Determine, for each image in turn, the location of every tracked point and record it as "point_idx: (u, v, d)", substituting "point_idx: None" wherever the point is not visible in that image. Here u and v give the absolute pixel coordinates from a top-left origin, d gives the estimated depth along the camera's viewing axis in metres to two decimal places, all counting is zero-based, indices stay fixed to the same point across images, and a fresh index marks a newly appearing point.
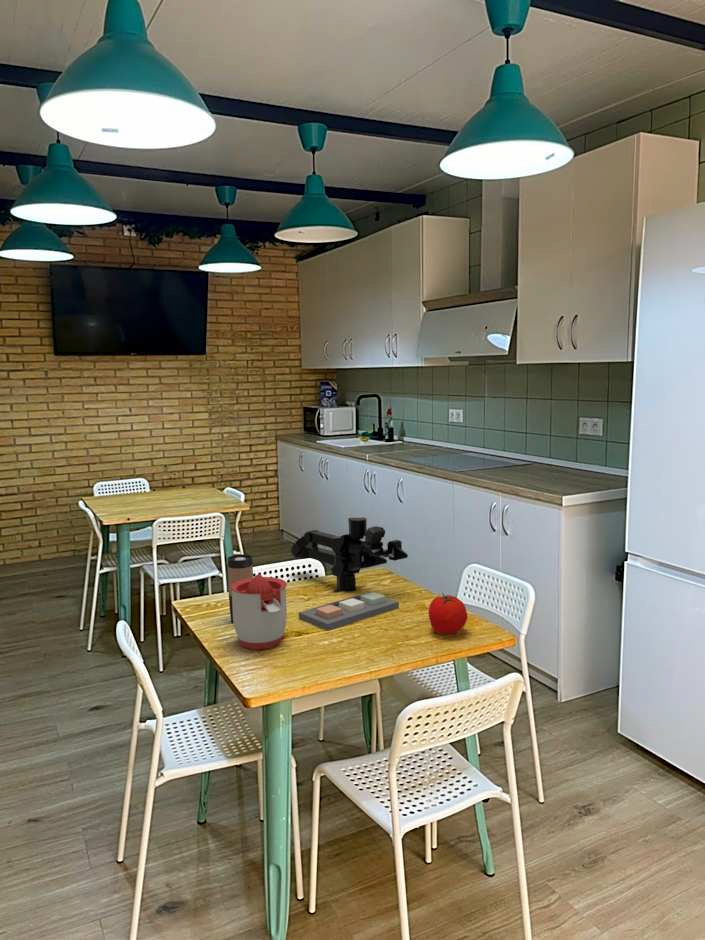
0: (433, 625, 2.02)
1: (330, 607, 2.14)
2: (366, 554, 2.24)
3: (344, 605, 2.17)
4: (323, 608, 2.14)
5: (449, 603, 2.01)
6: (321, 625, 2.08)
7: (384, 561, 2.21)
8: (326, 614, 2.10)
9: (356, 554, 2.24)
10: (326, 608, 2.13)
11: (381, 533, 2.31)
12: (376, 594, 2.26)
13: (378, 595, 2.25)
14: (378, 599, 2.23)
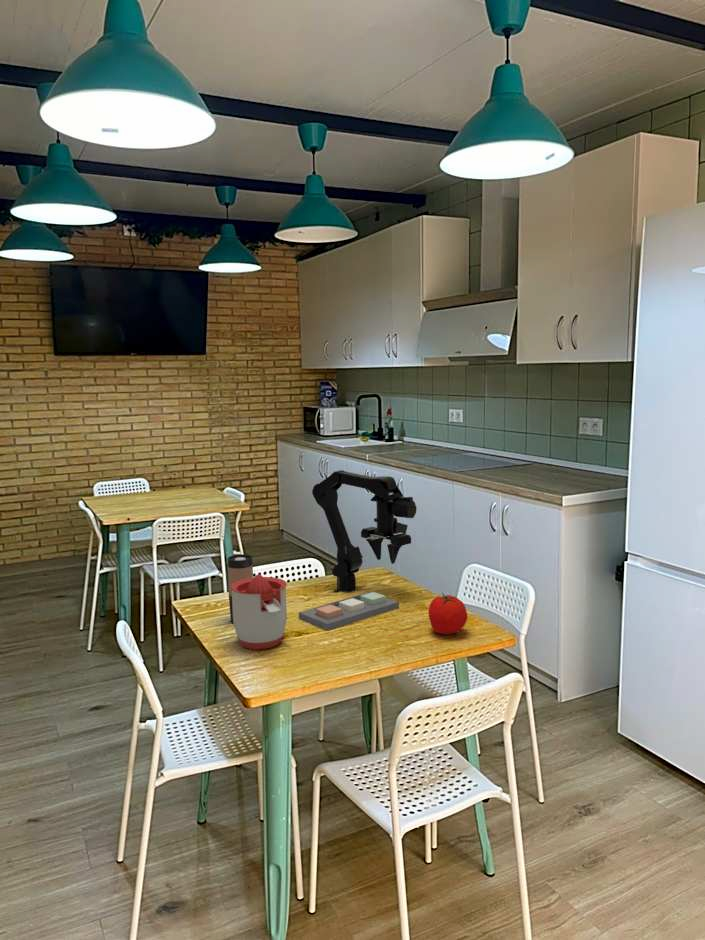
0: (433, 625, 2.02)
1: (330, 607, 2.14)
2: None
3: (344, 605, 2.17)
4: (323, 608, 2.14)
5: (449, 603, 2.01)
6: (321, 625, 2.08)
7: (393, 561, 2.31)
8: (326, 614, 2.10)
9: (408, 539, 2.27)
10: (326, 608, 2.13)
11: None
12: (376, 594, 2.26)
13: (378, 595, 2.25)
14: (378, 599, 2.23)
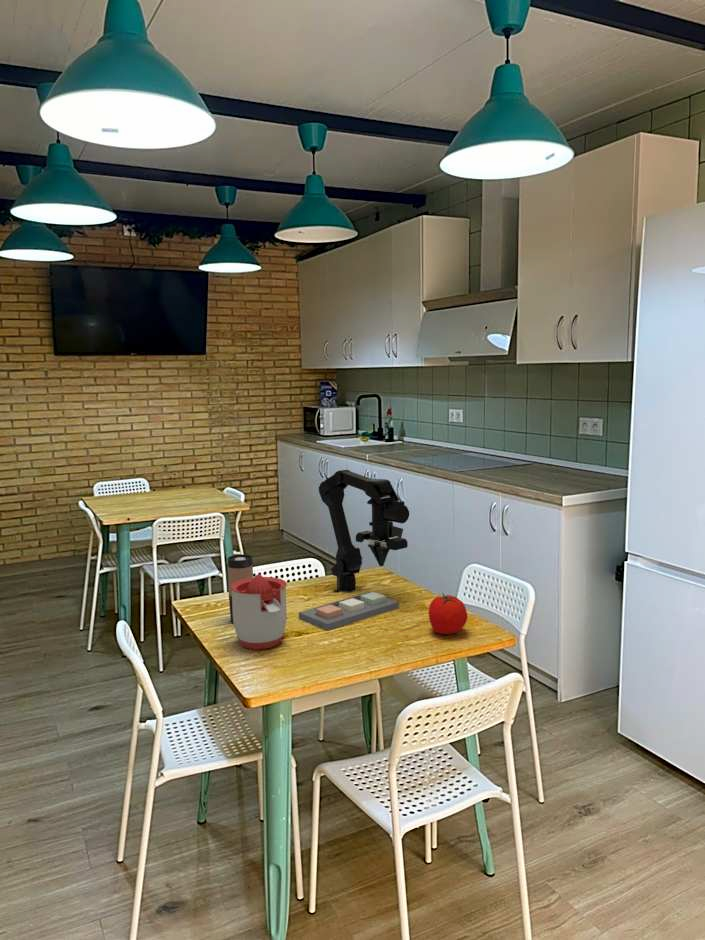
0: (433, 625, 2.02)
1: (330, 607, 2.14)
2: None
3: (344, 605, 2.17)
4: (323, 608, 2.14)
5: (449, 603, 2.01)
6: (321, 625, 2.08)
7: (382, 564, 2.30)
8: (326, 614, 2.10)
9: (405, 543, 2.23)
10: (326, 608, 2.13)
11: None
12: (376, 594, 2.26)
13: (378, 595, 2.25)
14: (378, 599, 2.23)
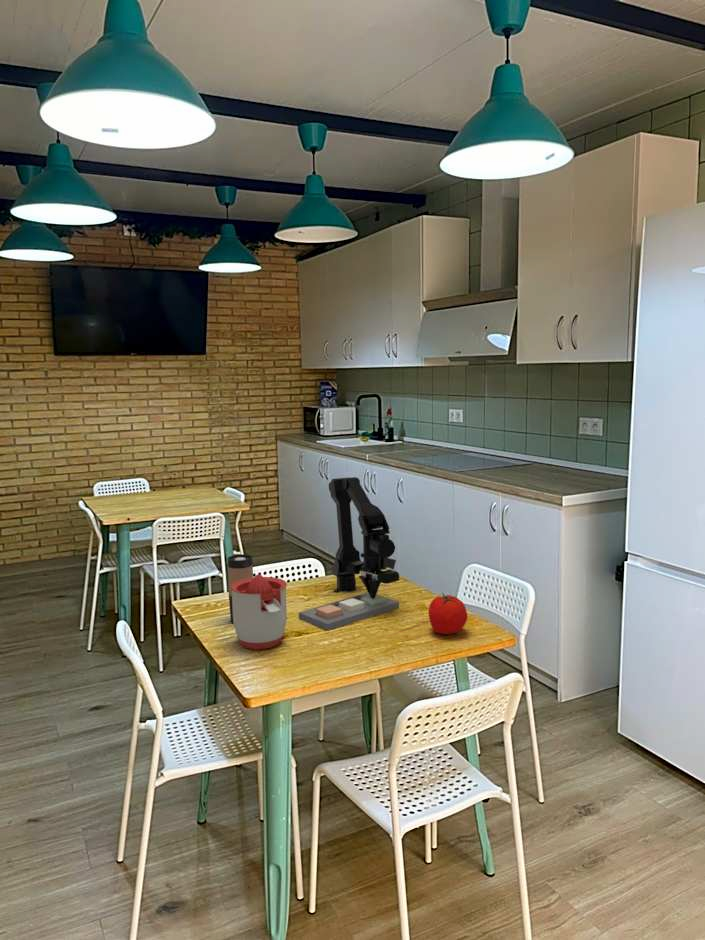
0: (433, 625, 2.02)
1: (330, 607, 2.14)
2: None
3: (344, 605, 2.17)
4: (323, 608, 2.14)
5: (449, 603, 2.01)
6: (321, 625, 2.08)
7: (373, 596, 2.24)
8: (326, 614, 2.10)
9: (396, 576, 2.18)
10: (326, 608, 2.13)
11: None
12: (376, 597, 2.26)
13: (378, 598, 2.25)
14: (378, 602, 2.23)
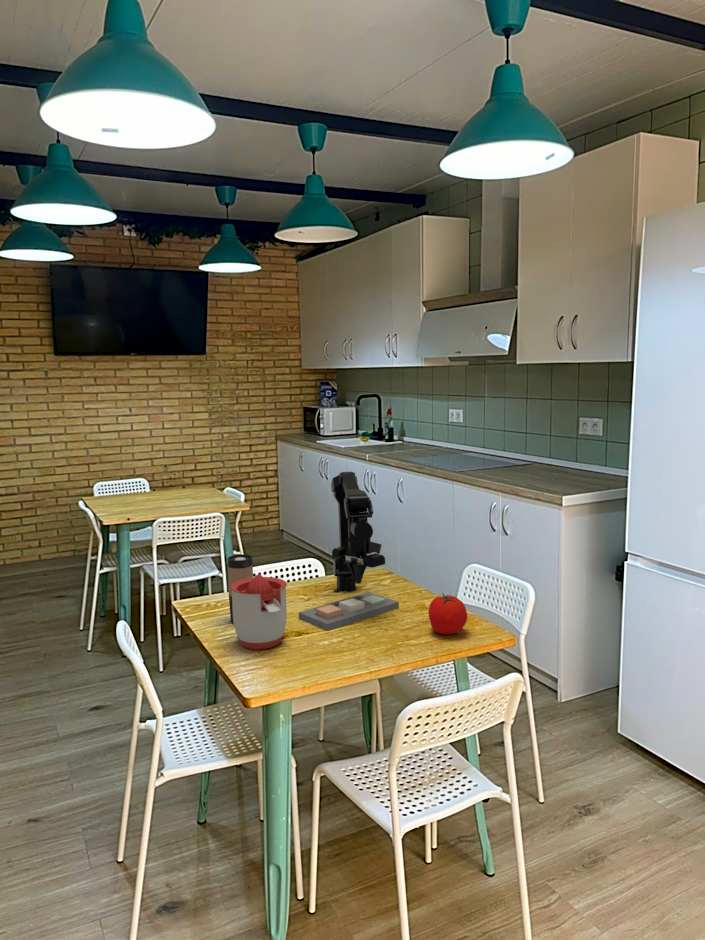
0: (433, 625, 2.02)
1: (330, 607, 2.14)
2: None
3: (344, 605, 2.17)
4: (323, 608, 2.14)
5: (449, 603, 2.01)
6: (321, 625, 2.08)
7: (359, 581, 2.19)
8: (326, 614, 2.10)
9: (382, 560, 2.13)
10: (326, 608, 2.13)
11: None
12: (376, 597, 2.26)
13: (378, 598, 2.25)
14: (378, 602, 2.23)
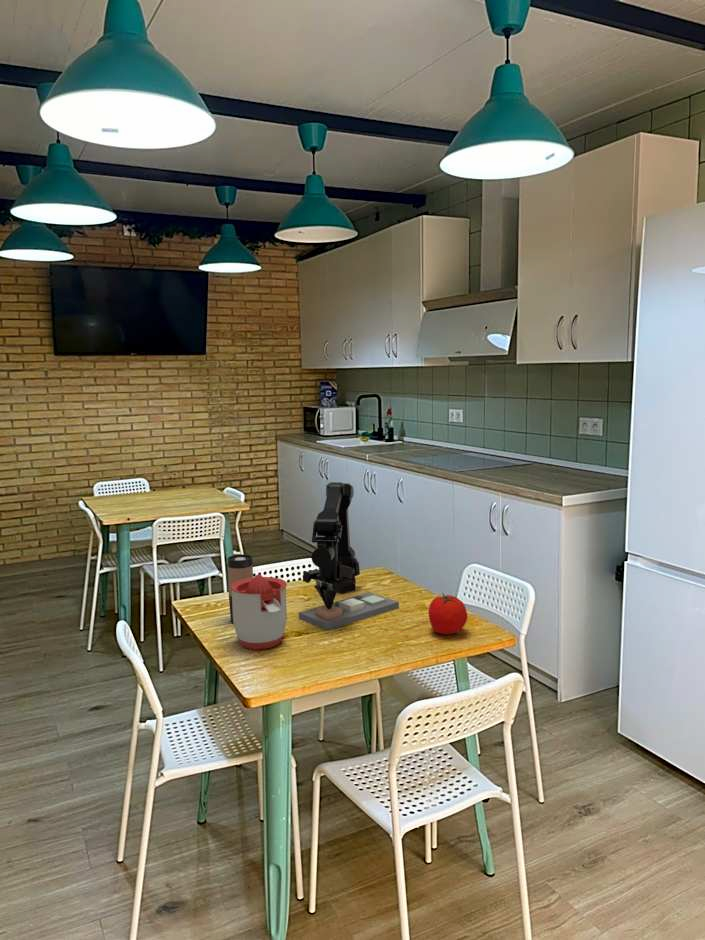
0: (433, 625, 2.02)
1: None
2: None
3: (344, 605, 2.17)
4: (323, 608, 2.14)
5: (449, 603, 2.01)
6: (321, 625, 2.08)
7: (329, 607, 2.13)
8: (326, 614, 2.10)
9: (352, 586, 2.06)
10: (326, 608, 2.13)
11: None
12: (376, 597, 2.26)
13: (378, 598, 2.25)
14: (378, 602, 2.23)
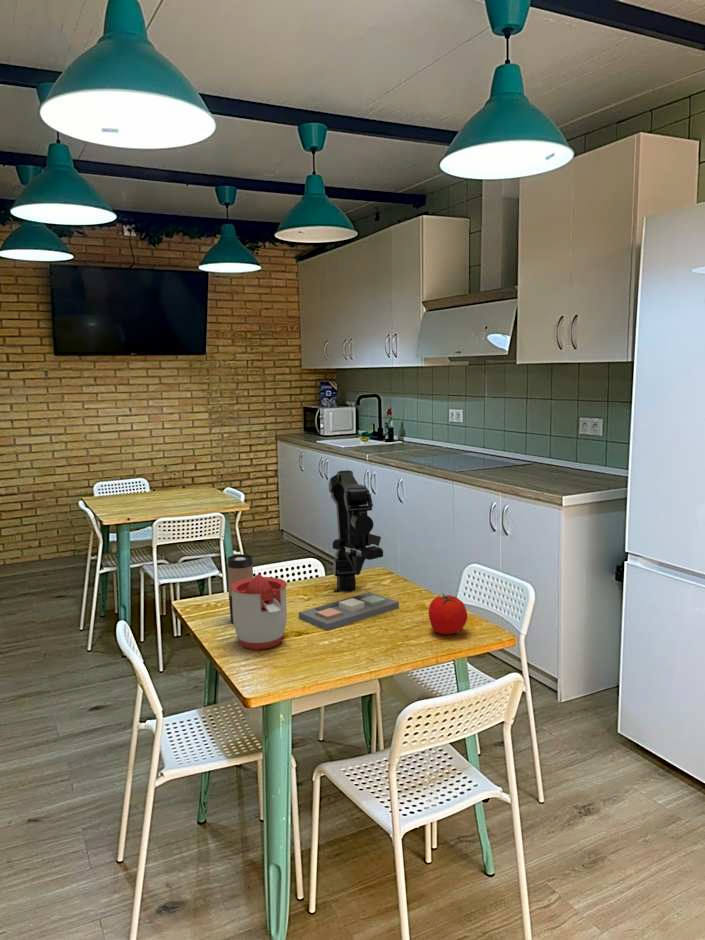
0: (433, 625, 2.02)
1: (330, 610, 2.14)
2: None
3: (344, 605, 2.17)
4: (323, 611, 2.14)
5: (449, 603, 2.01)
6: (321, 625, 2.08)
7: (358, 573, 2.24)
8: (326, 617, 2.10)
9: (380, 552, 2.17)
10: (326, 611, 2.13)
11: None
12: (376, 597, 2.26)
13: (378, 598, 2.25)
14: (378, 602, 2.23)
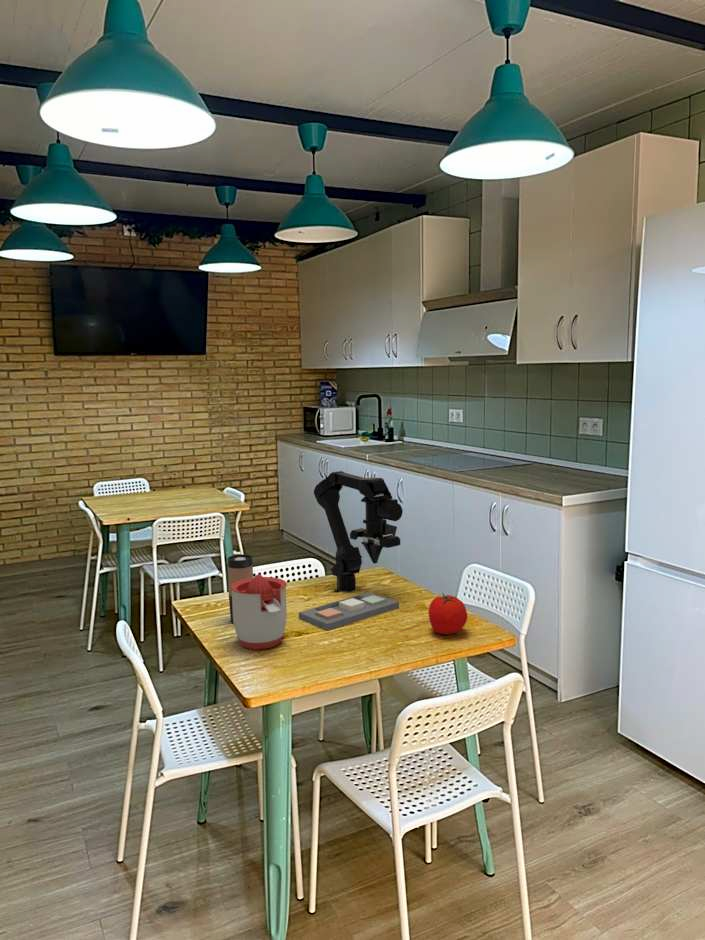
0: (433, 625, 2.02)
1: (330, 610, 2.14)
2: None
3: (344, 605, 2.17)
4: (323, 611, 2.14)
5: (449, 603, 2.01)
6: (321, 625, 2.08)
7: (375, 561, 2.32)
8: (326, 617, 2.10)
9: (397, 541, 2.25)
10: (326, 611, 2.13)
11: None
12: (376, 597, 2.26)
13: (378, 598, 2.25)
14: (378, 602, 2.23)
